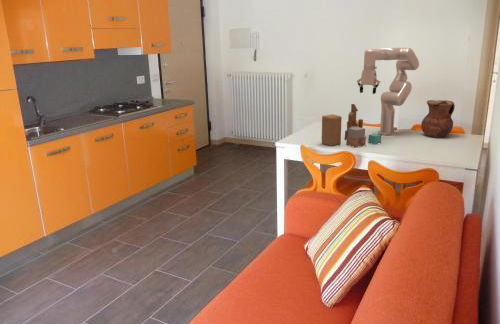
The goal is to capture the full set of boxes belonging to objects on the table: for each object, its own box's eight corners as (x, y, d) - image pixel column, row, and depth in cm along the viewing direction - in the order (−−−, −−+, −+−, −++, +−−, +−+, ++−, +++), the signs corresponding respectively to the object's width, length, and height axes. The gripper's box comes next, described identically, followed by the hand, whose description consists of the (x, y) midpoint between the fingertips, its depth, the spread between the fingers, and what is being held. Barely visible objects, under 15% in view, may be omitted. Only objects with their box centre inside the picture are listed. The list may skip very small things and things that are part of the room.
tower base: (355, 143, 287) (356, 134, 285) (365, 145, 280) (365, 137, 278) (346, 145, 283) (346, 136, 281) (355, 147, 275) (356, 139, 274)
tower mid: (356, 135, 285) (356, 126, 283) (364, 137, 278) (365, 128, 276) (347, 136, 281) (348, 128, 279) (356, 138, 274) (356, 130, 272)
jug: (443, 140, 285) (447, 104, 278) (415, 135, 300) (417, 102, 293) (457, 134, 299) (461, 100, 291) (429, 130, 314) (432, 98, 307)
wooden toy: (353, 140, 294) (354, 106, 286) (344, 139, 298) (345, 105, 290) (362, 136, 304) (364, 102, 297) (354, 135, 309) (356, 102, 301)
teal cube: (374, 141, 289) (374, 133, 287) (380, 143, 284) (381, 134, 282) (368, 143, 286) (368, 134, 284) (374, 144, 281) (375, 136, 279)
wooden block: (329, 146, 280) (330, 117, 274) (321, 143, 289) (321, 115, 283) (341, 144, 284) (342, 116, 279) (332, 141, 293) (332, 114, 287)
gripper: (383, 68, 277) (381, 93, 282) (360, 67, 289) (359, 91, 294) (378, 69, 272) (376, 94, 277) (355, 68, 284) (353, 92, 289)
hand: (367, 93), depth 285 cm, fingers open, 9 cm apart
